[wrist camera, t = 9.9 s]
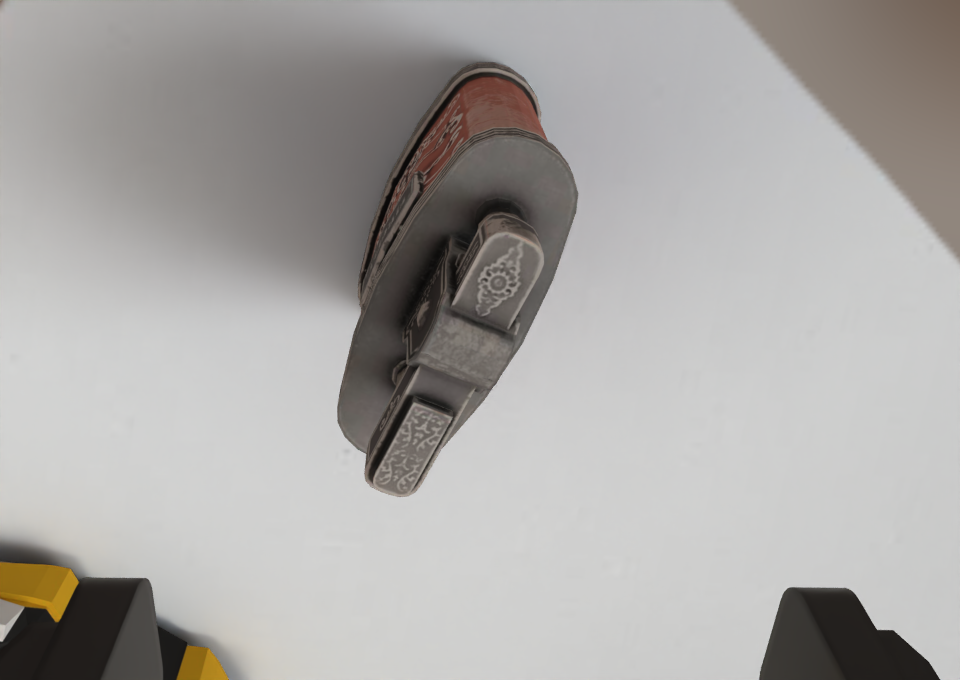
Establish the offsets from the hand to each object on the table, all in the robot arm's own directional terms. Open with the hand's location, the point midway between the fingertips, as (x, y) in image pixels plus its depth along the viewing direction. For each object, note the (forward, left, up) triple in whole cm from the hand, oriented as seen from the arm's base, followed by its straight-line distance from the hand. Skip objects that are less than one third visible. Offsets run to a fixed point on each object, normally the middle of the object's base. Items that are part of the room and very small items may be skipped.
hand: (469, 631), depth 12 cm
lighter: (0, 0, -16) cm, 16 cm away
